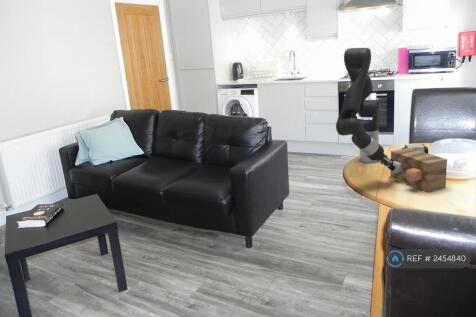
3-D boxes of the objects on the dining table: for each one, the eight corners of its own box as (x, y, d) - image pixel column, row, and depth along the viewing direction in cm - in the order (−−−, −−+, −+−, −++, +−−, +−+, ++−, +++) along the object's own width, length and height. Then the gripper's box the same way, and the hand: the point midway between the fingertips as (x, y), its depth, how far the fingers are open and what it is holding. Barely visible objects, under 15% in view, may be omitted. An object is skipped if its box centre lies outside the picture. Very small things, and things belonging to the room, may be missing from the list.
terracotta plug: (405, 179, 178) (405, 167, 176) (424, 174, 181) (425, 163, 179) (414, 183, 172) (414, 171, 171) (434, 178, 176) (435, 166, 174)
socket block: (390, 177, 193) (391, 151, 190) (407, 173, 196) (408, 147, 193) (427, 192, 173) (428, 163, 169) (445, 187, 176) (447, 159, 172)
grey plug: (390, 171, 189) (390, 160, 187) (409, 167, 192) (409, 155, 191) (398, 174, 184) (398, 163, 182) (417, 170, 187) (418, 158, 186)
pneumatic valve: (427, 167, 202) (428, 144, 198) (403, 168, 204) (403, 145, 200) (425, 163, 207) (425, 141, 203) (400, 164, 209) (401, 142, 206)
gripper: (385, 144, 173) (408, 166, 180) (366, 138, 185) (388, 159, 192) (375, 158, 173) (398, 179, 180) (356, 151, 185) (378, 171, 192)
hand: (393, 169), depth 186 cm, fingers closed
